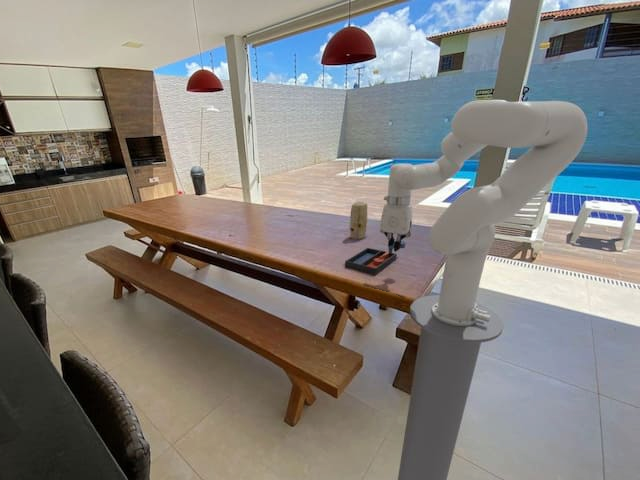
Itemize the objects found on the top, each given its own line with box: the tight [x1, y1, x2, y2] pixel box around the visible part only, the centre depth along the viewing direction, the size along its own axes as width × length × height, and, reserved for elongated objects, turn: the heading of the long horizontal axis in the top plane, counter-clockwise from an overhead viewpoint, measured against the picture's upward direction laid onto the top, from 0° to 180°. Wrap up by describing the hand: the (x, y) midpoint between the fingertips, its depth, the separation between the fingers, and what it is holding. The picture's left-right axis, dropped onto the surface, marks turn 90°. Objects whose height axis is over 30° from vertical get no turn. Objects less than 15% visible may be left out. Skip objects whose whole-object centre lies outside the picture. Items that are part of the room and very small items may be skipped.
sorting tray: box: [344, 247, 397, 276], centre depth 134 cm, size 14×20×3 cm
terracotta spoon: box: [374, 251, 389, 265], centre depth 134 cm, size 4×11×3 cm, turn 138°
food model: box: [349, 201, 368, 240], centre depth 161 cm, size 10×7×20 cm
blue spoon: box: [387, 240, 407, 253], centre depth 115 cm, size 4×11×3 cm, turn 138°
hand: (393, 249), depth 115 cm, fingers closed on blue spoon, 1 cm apart
